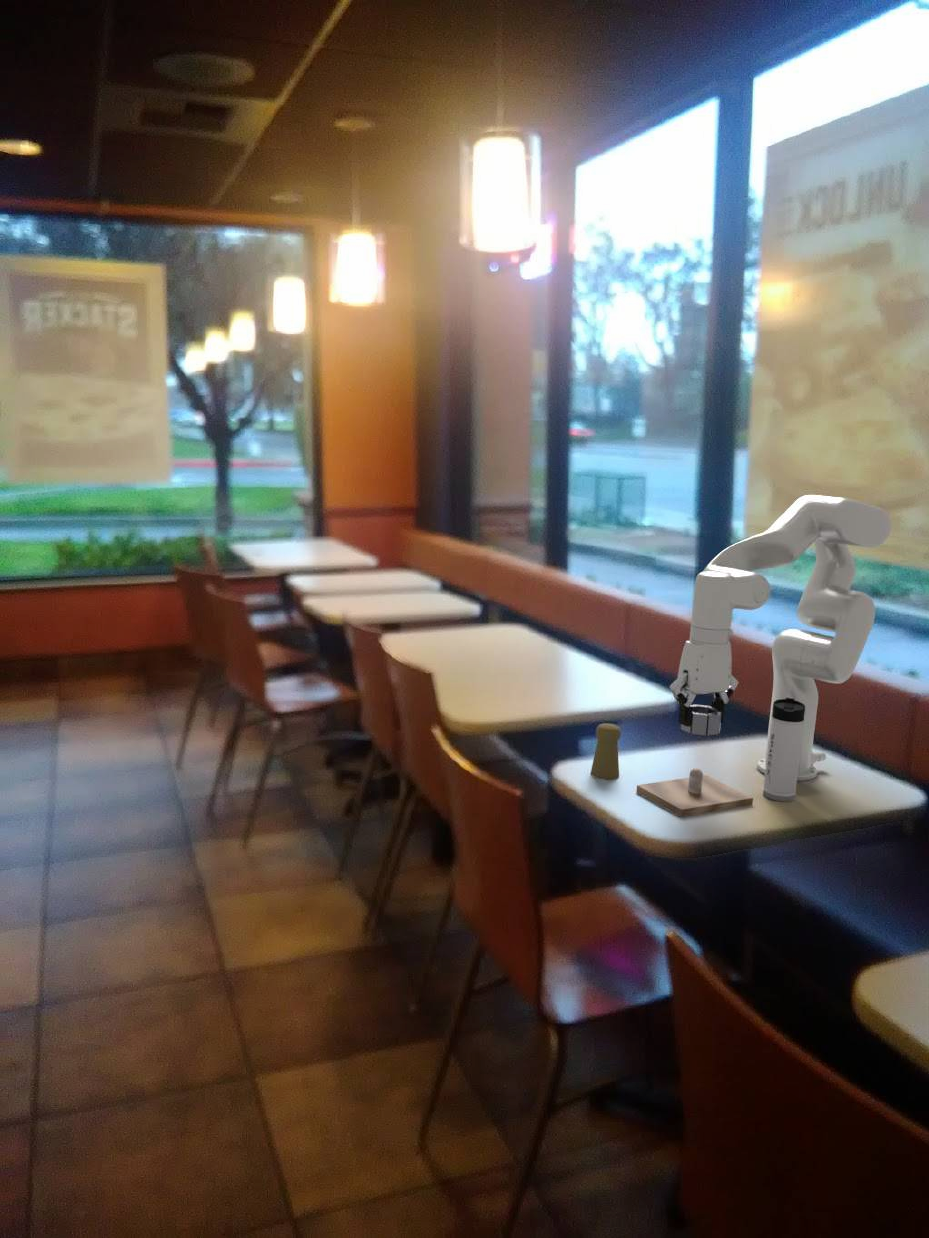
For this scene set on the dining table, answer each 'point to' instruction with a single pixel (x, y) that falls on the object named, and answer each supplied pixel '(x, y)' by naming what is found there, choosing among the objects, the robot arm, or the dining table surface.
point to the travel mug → (784, 750)
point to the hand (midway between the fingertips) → (700, 722)
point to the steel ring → (704, 720)
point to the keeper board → (694, 795)
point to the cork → (606, 752)
